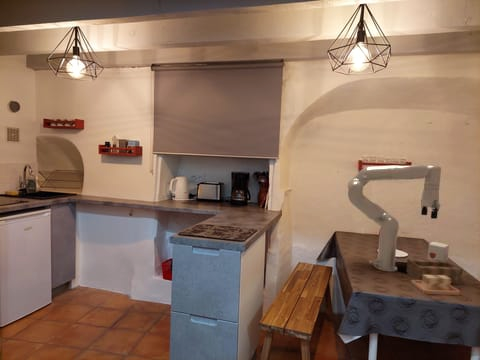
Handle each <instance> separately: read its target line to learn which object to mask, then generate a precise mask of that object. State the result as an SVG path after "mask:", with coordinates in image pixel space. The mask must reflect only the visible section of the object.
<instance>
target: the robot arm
mask: <svg viewBox="0 0 480 360" xmlns="http://www.w3.org/2000/svg"><path fill="white" fill-rule="evenodd" d="M441 173H442V167H441V166H439V165H424V164H414V165H393V164H392V165H390V164H389V165H388V164H387V165H376V166H375V165H374V166H373V165H372V166H371V165H367V166H364V167H362V169H360V170H359V172H358V173H356V174H355V175H354V176H353V177H352V178H350V180H349V182H348V184H347V188H348V189H347V197H348V200H349V201H350V203H351V204H352V205H353V206H354V207H355V208H356V209H357V210H359V211H360V212H361V213H362V214H364V215H365V216H366V217H367V218H368V219H370V220H372V221H373V222H375V223H376V224H377V225H378V226H380V231H379V237H378V250H377V258H376V259H375V260H369V261H368V263H369V264H370V265H373V266H374V267H375V269H378V270H380V271H383V272H391V273H392V272H397V271H398V267H397V266H396V254H397V240H398V233H399V230H400V229H399V228H400V225H399V221H398V219H396V218H395V217H394V216H393V215H392V214H390V213H389V212H388V211H387V210H386V209H384V208H383V207H381V206H380V205H379V204H378V203H376V202H373V201H372V200H370V198H368V197H366V196H365V195H364V187H365V186H366V185H367V184H368V183H369V182H370V181H373V182H374V181H391V180H393V181H397V180H399V181H400V180H418V179H419V180H422V179H424V184H423V185H424V186H423V190H422V194H421V199H420V205H421V213H420V215H421V216H427V215H428V208H431V210H432V211H430V218H431V220H432V219H435V220H436V219H438V213H439V210H440V207H441V204H440V202H439V201H440V193H439V191H440V185H441Z"/></svg>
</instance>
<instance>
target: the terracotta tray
mask: <svg viewBox="0 0 480 360" xmlns="http://www.w3.org/2000/svg"><path fill="white" fill-rule="evenodd" d="M410 284H411V285H412V286H414V287H415V288H416V289H418V290H419V291H420V292H421V293H423V295H437V296H438V295H442V296H443V295H444V296H445V295H446V296H461V295H462V292H461V290H459V289H458V288H456V287H455V286H453V285H451V287H450V290H430V289H425V288H424V287H423V286H422V280H416V279H411V280H410Z"/></svg>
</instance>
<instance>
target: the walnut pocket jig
mask: <svg viewBox="0 0 480 360" xmlns="http://www.w3.org/2000/svg"><path fill="white" fill-rule="evenodd" d="M463 271H464V269H462V268H461V267H459V266H457V265H455V264H454V263H452V262H450V261H448V260H447V261H441V260H427V259H413V258H412V259H410V258H407V262H406V272H407V273H406V274H407V275H409V276H410V277H412V278H413V280H422V277H423V275H446V276H448V277H449V278H451V284H452V285H462V281H463V273H464V272H463Z"/></svg>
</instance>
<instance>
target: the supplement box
mask: <svg viewBox="0 0 480 360" xmlns="http://www.w3.org/2000/svg"><path fill="white" fill-rule="evenodd" d="M449 250H450V244H447V243H442V242H437V241H432V242H430V243H428V251H427V259H426V260H441V261H448V257H449Z"/></svg>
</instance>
